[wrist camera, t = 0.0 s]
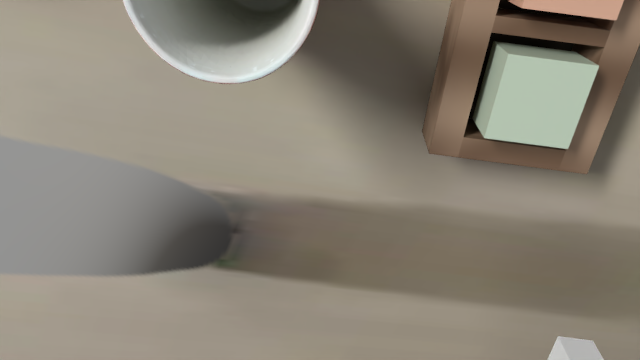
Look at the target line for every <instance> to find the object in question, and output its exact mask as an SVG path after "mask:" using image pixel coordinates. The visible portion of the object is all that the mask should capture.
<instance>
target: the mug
mask: <svg viewBox="0 0 640 360" xmlns="http://www.w3.org/2000/svg"><path fill="white" fill-rule="evenodd" d="M319 2H320V0H123V3H124V5H125V8H126V11H127V14H128V15H129V17H130V19H131V21H132V23H133V25H134V26H135V28H136V30H137V31H138V33H139V34H140V36H141V37H142V38H143V40H144V41H145V42H146V43H147V44H148V46H149V47H150V48H151V49H152V50H153V51H154V52H155V53H156V54H157V55H158V56H159V57H161V58H162V59H163V60H164V61H165V62H167V63H168V64H169V65H171V66H172V67H174V68H176V69H177V70H179V71H181V72H182V73H184V74H186V75H189V76H191V77H194V78H197V79H200V80H203V81H207V82H213V83H220V84H237V83H245V82H250V81H254V80H258V79H260V78H263V77H265V76H267V75H269V74H271V73H273V72H274V71H276V70H277V69H279V68H280V67H282V66H283V65H284V64H285V63H287V62H288V61H289V60H290V59H291V58H292V57H293V56H294V55H295V54H296V53H297V51H298V50H299V49H300V48H301V46H302V45H303V43H304V41H305V40H306V38H307V37H308V35H309V33H310V31H311V29H312V27H313V24H314V21H315V18H316V15H317V11H318V7H319Z"/></svg>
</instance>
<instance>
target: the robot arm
mask: <svg viewBox="0 0 640 360" xmlns="http://www.w3.org/2000/svg"><path fill="white" fill-rule="evenodd" d="M548 360H604V359H603V358H602V356H601V354H600V352H599V351H598V349H597V347H596V345H595V344H594V342H593V341H591V340H583V339H576V338H568V337H561V336H558V338H557V340H556V342H555V344H554V346H553V349H552V351H551V353H550V355H549V358H548Z"/></svg>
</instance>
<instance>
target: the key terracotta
mask: <svg viewBox="0 0 640 360" xmlns="http://www.w3.org/2000/svg"><path fill="white" fill-rule="evenodd" d="M507 1H509V2H511V3H513V4H515V5H516V6H518V7H520V8H524V9H532V10H540V11H547V12H555V13H563V14H570V15H578V16H586V17H593V18H601V19H609V20H617V18H618V15H619V12H620V10H621V7H622V4H623V2H624V0H507Z"/></svg>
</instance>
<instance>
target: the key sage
mask: <svg viewBox="0 0 640 360" xmlns="http://www.w3.org/2000/svg"><path fill="white" fill-rule="evenodd" d="M598 68H599V65H597V64H595V63H594V62H592V61H590V60H589V59H587V58H585V57H583V56H582V55H580V54H578V53H577V52H573V51H565V50H557V49H550V48H542V47H534V46H527V45H519V44H511V43H504V42H496V41H493V45H492V49H491V52H490V56H489V60H488V63H487V67H486V71H485V74H484V78H483V82H482V85H481V89H480V93H479V96H478V100H477V104H476V108H475V111H474V115H473V120H474V122H475V124H476V125H477V127H478V129H479V130H480V132H481V134H482V135H483V137H484V138H487V139H495V140H502V141H510V142H518V143H525V144H533V145H541V146H548V147H556V148H563V149H568V148H569V145H570V143H571V140H572V137H573V135H574V132H575V129H576V127H577V124H578V121H579V119H580V116H581V113H582V111H583V108H584V105H585V103H586V100H587V97H588V95H589V92H590V89H591V87H592V84H593V81H594V79H595V76H596V73H597V71H598Z"/></svg>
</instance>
